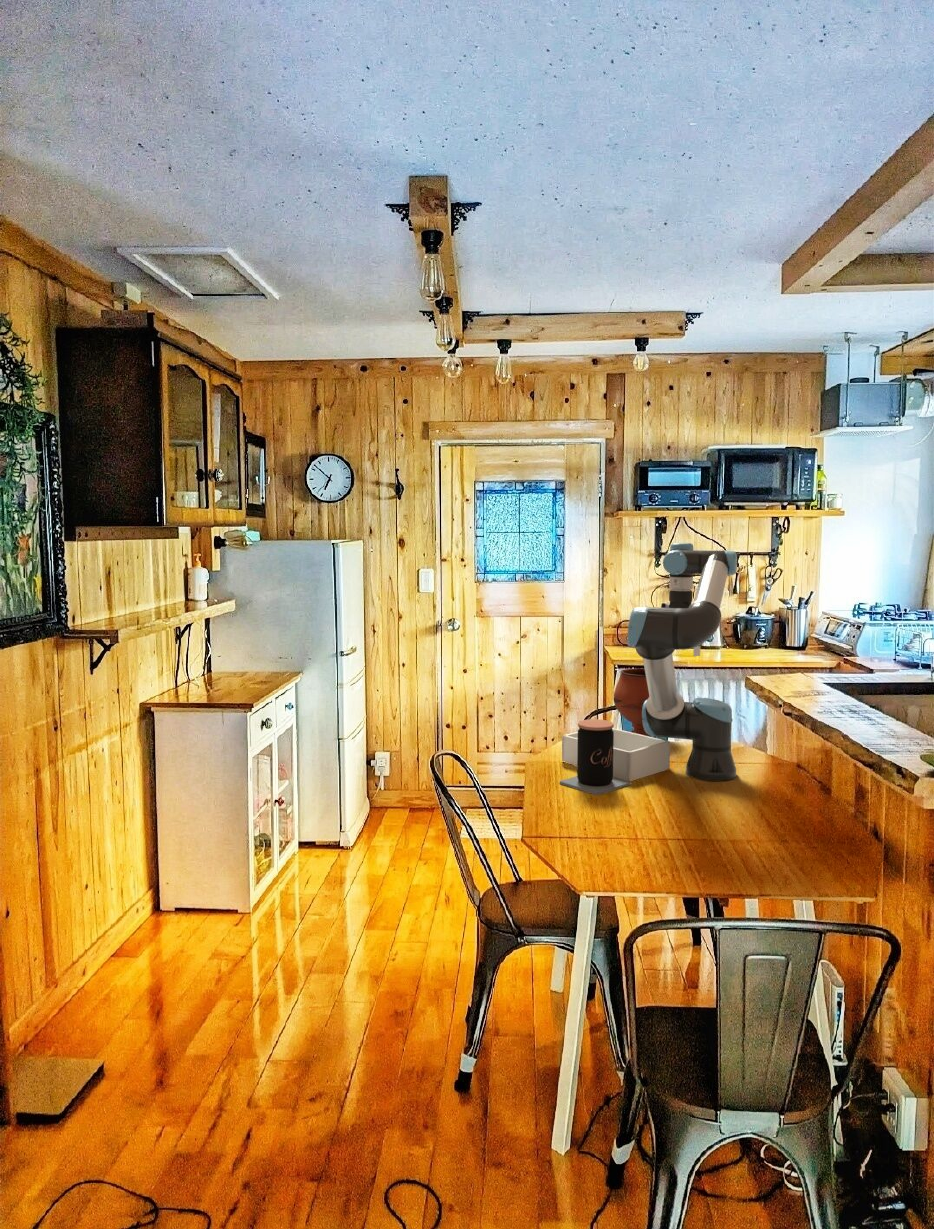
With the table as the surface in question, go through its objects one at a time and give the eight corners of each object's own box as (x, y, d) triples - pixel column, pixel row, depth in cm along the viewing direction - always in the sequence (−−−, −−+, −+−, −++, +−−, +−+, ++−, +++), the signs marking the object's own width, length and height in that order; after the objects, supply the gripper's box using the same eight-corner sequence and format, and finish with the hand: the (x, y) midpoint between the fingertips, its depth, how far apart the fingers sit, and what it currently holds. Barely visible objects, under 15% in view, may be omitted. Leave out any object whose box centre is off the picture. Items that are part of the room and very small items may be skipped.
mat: (630, 785, 264) (630, 782, 263) (597, 795, 254) (597, 792, 254) (592, 774, 275) (592, 771, 275) (559, 783, 265) (559, 781, 265)
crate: (669, 769, 280) (670, 741, 279) (629, 781, 267) (629, 752, 266) (602, 751, 301) (602, 725, 300) (561, 762, 288) (562, 735, 287)
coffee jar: (590, 789, 257) (591, 729, 255) (570, 779, 267) (570, 721, 265) (620, 784, 262) (621, 724, 260) (598, 774, 271) (599, 717, 269)
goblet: (676, 744, 310) (678, 674, 307) (625, 747, 306) (626, 677, 303) (653, 731, 329) (654, 665, 326) (605, 734, 325) (606, 667, 322)
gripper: (643, 588, 296) (642, 650, 299) (706, 592, 278) (704, 659, 280) (657, 586, 301) (656, 648, 304) (720, 591, 282) (718, 656, 285)
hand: (679, 653), depth 292 cm, fingers open, 13 cm apart
